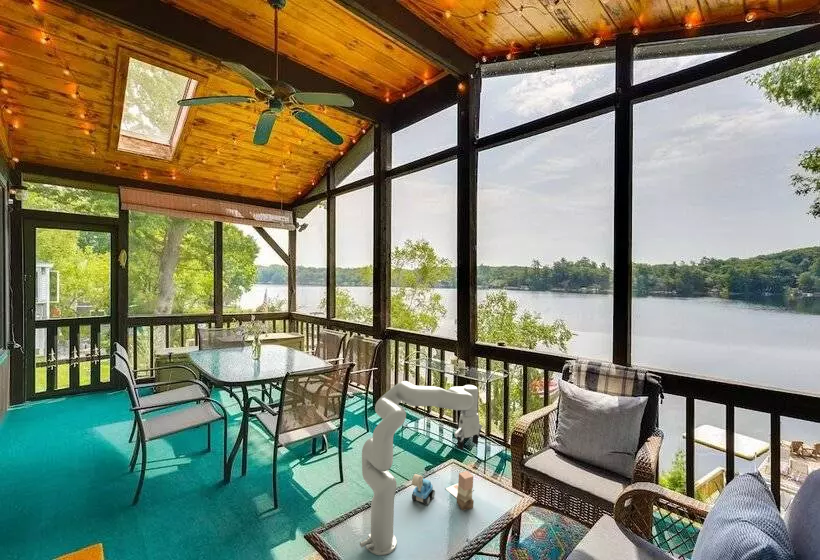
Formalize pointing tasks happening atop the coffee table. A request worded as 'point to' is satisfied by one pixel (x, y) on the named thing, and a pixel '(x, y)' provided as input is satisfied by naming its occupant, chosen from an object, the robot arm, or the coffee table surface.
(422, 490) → the toy excavator
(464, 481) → the terracotta block
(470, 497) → the maple block
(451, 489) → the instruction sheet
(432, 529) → the coffee table surface
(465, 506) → the walnut base block
